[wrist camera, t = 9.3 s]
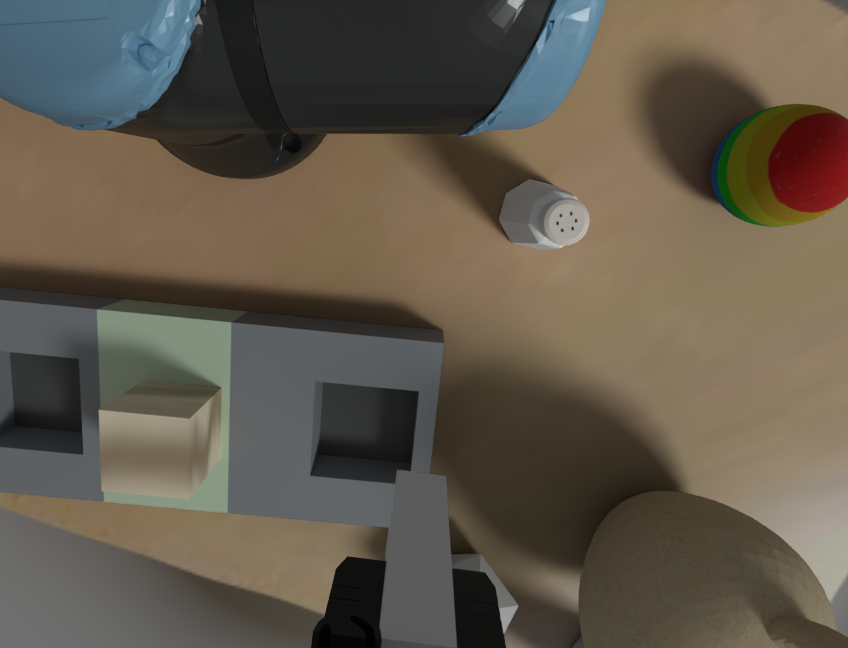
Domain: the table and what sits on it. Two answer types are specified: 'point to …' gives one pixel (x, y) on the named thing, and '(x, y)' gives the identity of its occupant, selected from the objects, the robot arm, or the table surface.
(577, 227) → the pepper shaker
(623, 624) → the vase
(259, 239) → the table surface
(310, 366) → the board
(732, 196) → the decorative egg
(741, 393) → the table surface
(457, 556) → the die
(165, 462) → the birch block
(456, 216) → the table surface
